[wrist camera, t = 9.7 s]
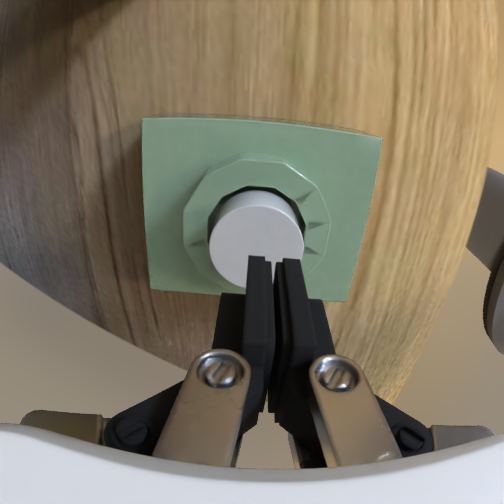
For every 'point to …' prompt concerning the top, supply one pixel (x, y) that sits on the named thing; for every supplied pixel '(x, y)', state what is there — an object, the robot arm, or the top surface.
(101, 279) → the top surface
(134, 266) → the top surface
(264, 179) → the green button base
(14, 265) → the top surface
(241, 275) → the grey push button
